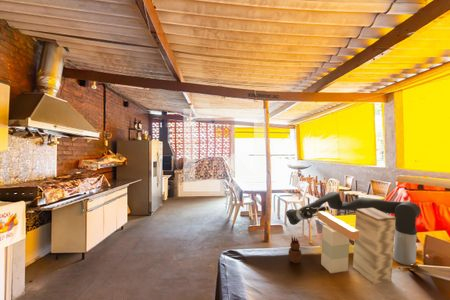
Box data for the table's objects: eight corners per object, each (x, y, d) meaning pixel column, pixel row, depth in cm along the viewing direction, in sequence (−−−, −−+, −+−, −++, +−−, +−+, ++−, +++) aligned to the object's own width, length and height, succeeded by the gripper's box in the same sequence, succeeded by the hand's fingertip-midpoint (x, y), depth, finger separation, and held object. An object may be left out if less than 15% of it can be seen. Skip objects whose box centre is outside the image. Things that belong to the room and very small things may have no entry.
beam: (323, 217, 130) (323, 210, 129) (358, 239, 104) (359, 230, 104) (317, 218, 129) (317, 211, 128) (351, 240, 103) (352, 231, 103)
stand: (368, 264, 121) (372, 207, 118) (391, 280, 108) (395, 217, 105) (352, 267, 118) (356, 209, 115) (373, 283, 106) (378, 218, 103)
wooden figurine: (287, 262, 123) (288, 236, 121) (289, 257, 128) (290, 232, 126) (300, 266, 119) (300, 239, 118) (301, 260, 124) (302, 235, 123)
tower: (336, 261, 123) (338, 223, 121) (347, 270, 116) (349, 230, 113) (321, 263, 121) (322, 225, 119) (330, 273, 113) (332, 232, 111)
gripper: (315, 218, 144) (331, 214, 129) (295, 220, 140) (309, 216, 126) (312, 206, 147) (327, 201, 132) (293, 208, 143) (306, 203, 129)
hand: (318, 208), depth 129 cm, fingers open, 8 cm apart
